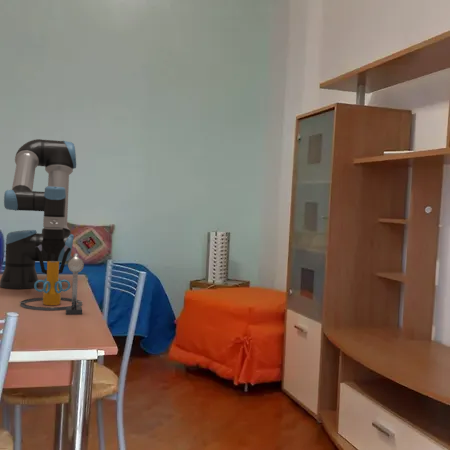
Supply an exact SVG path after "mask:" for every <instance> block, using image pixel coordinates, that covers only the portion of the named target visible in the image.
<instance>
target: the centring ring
mask: <svg viewBox="0 0 450 450" xmlns="http://www.w3.org/2000/svg"><path fill="white" fill-rule="evenodd" d="M37 301H38V302H39V301H40V302H41V301H43V296H41V297H34V298H27V299H26V298H25V299H24V300H20V301H18V302H19V305H20V307H22V308H23V309H28V310H33V311H35V310H36V311H66V307H72V305H68V306H58V307H57V306H55V307H54V306H50V307H49V306H47V307H46V306H45V307H44V306H34V305H29V304H27V303H31V302H37ZM61 301H65V302H66V301H67V302H72V297H61ZM83 303H84V301H83V300H79V299H77V307H82V305H83Z"/></svg>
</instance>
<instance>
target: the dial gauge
mask: <svg viewBox="0 0 450 450" xmlns="http://www.w3.org/2000/svg"><path fill="white" fill-rule="evenodd" d="M72 256H73V257H71V258H70V259H69V260H68V261H67V267H68V269H69V271H70V272H71V273H72V281H71V282H72V283H71V285H72V287H71V290H72V291H71V298H72V301H71V306H72V307H66V306H65V307H66V310H65V315H67V316H68V315H83V307H82V306H80V307H77V304H78V303H77V300H78V282H79V281H78V280H79V278H78V277H79V273H80V272H82V271H83V270H84V268H85V263H84V260H83V259H82V258H80V255H79V253H73V255H72Z"/></svg>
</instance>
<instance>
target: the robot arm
mask: <svg viewBox="0 0 450 450" xmlns="http://www.w3.org/2000/svg"><path fill="white" fill-rule="evenodd" d="M14 162H15V164H16V166H15V172H14V176H13V182H12V186H11V189H7V190H5V192H4V196H3V198H4V199H3V206H4V209H6V210H9V211H11V210H12V211H29V212H31V211H32V212H43V220H42V221H43V224H42V226H43V228H42V229H41V233H37V230H36V229H27V230H17V231H16V230H15V231H10V232H9V233H7V234H6V238H5V259H4V261H5V265H4V266H5V267H4V269H3V272H2V275H1V278H0V288H3V289H12V290H15V289H16V290H17V289H18V290H23V289H26V290H27V289H35V288H34V284H35V282H36V281H38V280H39V276H38V274H37V270H36V262H39V265H40V270H41V273H43V274H45V275H46V276H47V269H46V267H45V262H46V263H47V262H48V261H58V262H59V263H61V264H60V265H59V274H63V271H64V268H65V265H66V262H69V260H70V259H71V257H72V250H73V243H74V239H75V235H74V234H73V233H72V232H71V229H70V228H69V227H68V212H69V211H68V209H69V208H68V207H69V185H70V175H72V173H73V172H74V171H73V170H74V169H76V168H77V155H76V146H75V144H74V143H73V142H71V141H66V140H52V139H41V138H40V139H37V138H36V139H32V140H29V141H28V142H26V143H24V144H23V145H21V146H20V147H19V148H18V150H17V151H16V154H15V156H14ZM37 167H45V169H44V170H45V172H46V173H47V174H48V177H47V178H48V179H47V186H45V188H44V191H36V190H35V191H34V190H33V189H34V182H35V181H34V180H35V176H36V175H35V174H36V168H37ZM39 283H40V282H39ZM39 283H37V285H36V287H37V288H39V286H40V284H39Z"/></svg>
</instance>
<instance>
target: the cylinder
mask: <svg viewBox="0 0 450 450" xmlns="http://www.w3.org/2000/svg"><path fill="white" fill-rule="evenodd" d="M59 269H60V262H58V261H48V262H46V270H47V275H46V277H45V278H44V279H38V281H36V282H35V284H34V288H33V289H34V290H35V291H36V292H40V293H42V297H43V300H42V305H44V306H59V305H61V302H62V300H61V298H62V293H63V292H67V291H68V290H70V288H71V283H70V281H69V280H67V279H61V278H60V275H59ZM37 283H42V289H39V288H38V287H36V285H37ZM62 283H67V287H66V288H65V289H63V284H62Z"/></svg>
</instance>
